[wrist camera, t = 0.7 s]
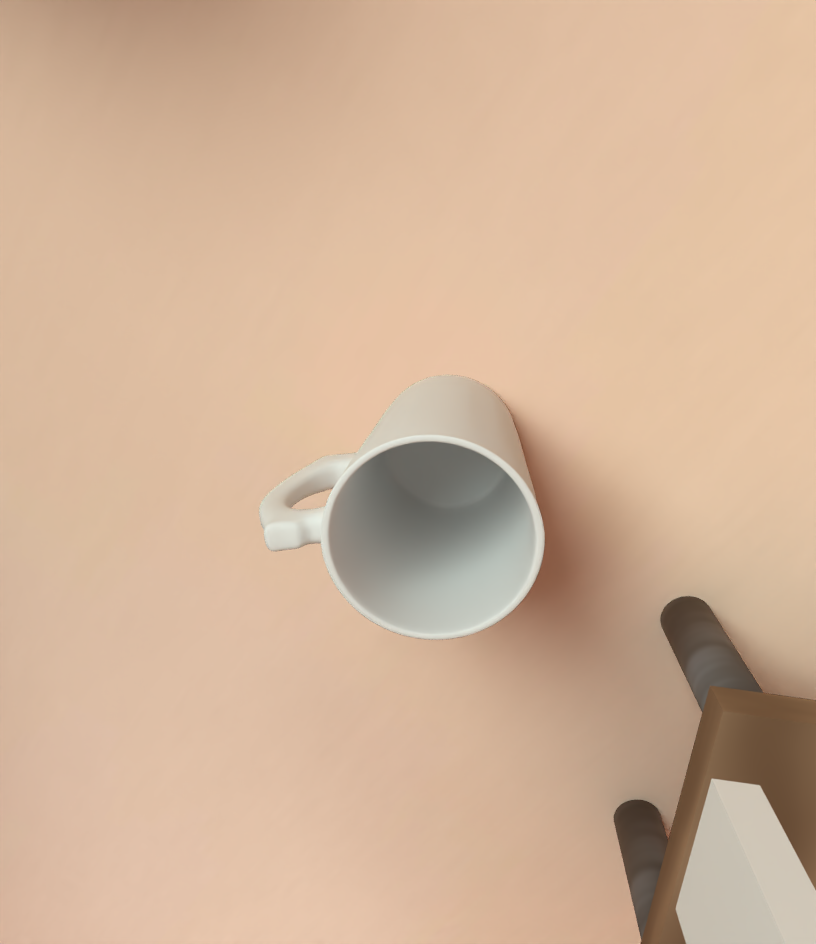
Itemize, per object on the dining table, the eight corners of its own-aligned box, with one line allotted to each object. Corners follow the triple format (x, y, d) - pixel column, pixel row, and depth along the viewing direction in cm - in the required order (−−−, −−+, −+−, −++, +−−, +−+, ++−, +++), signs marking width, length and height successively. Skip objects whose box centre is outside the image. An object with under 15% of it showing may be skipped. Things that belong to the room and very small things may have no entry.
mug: (518, 361, 32) (539, 426, 21) (526, 504, 34) (549, 636, 22) (297, 380, 33) (200, 451, 22) (317, 517, 35) (237, 648, 24)
